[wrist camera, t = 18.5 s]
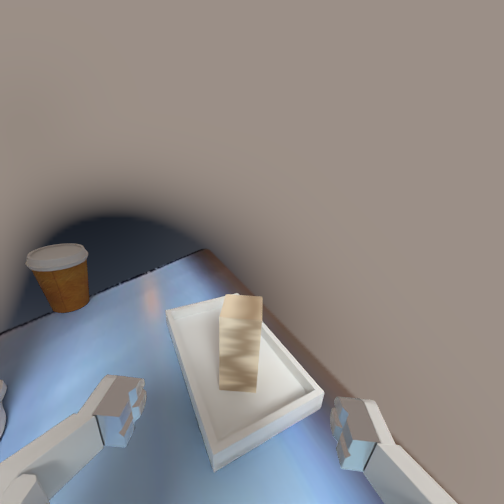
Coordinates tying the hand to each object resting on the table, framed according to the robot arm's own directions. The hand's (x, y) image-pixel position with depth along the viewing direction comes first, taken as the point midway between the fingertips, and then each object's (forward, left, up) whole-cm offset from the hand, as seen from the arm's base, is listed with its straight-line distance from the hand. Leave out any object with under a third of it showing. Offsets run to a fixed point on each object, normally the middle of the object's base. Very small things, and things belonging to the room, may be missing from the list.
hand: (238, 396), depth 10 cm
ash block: (-1, +18, -20) cm, 27 cm away
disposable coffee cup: (-38, +33, -21) cm, 55 cm away
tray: (-3, +22, -21) cm, 30 cm away
